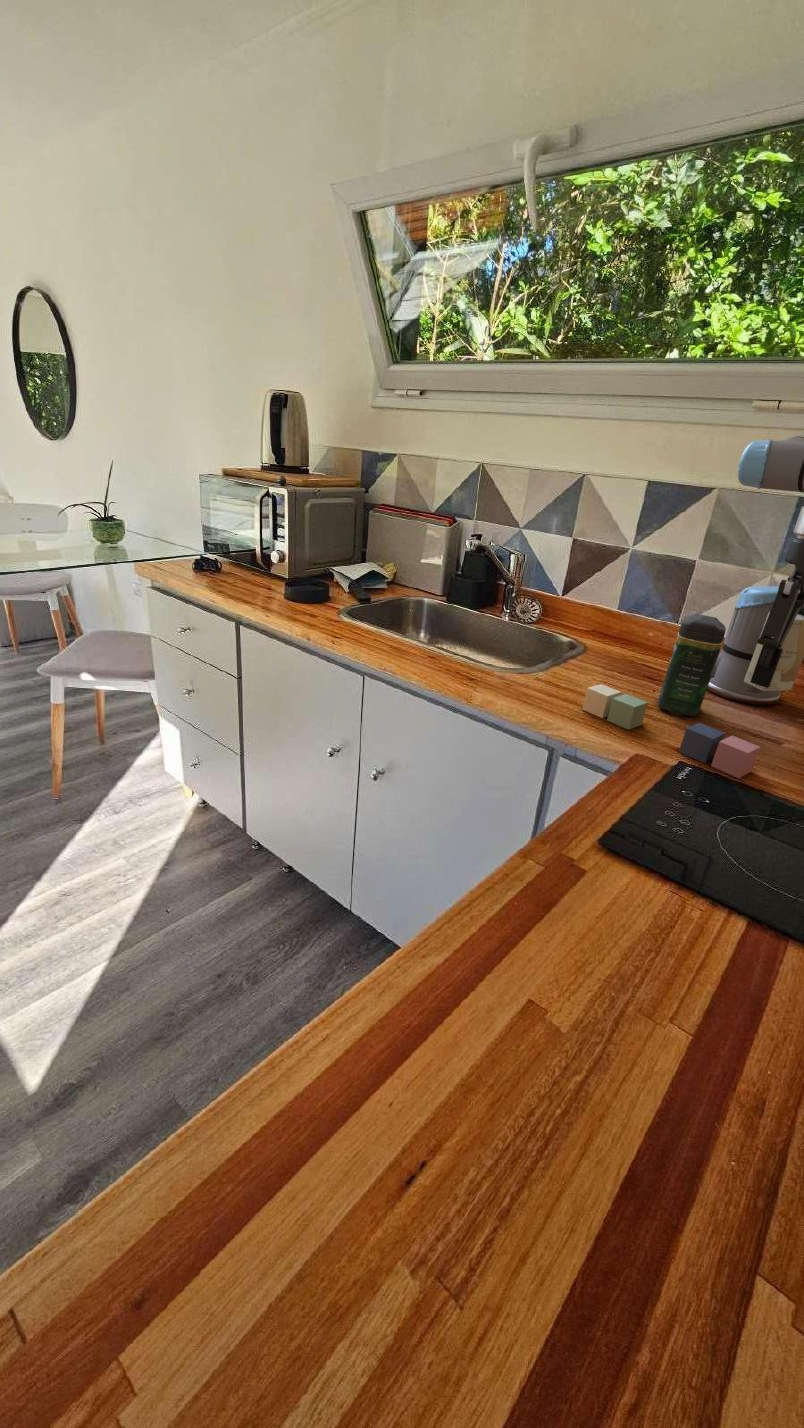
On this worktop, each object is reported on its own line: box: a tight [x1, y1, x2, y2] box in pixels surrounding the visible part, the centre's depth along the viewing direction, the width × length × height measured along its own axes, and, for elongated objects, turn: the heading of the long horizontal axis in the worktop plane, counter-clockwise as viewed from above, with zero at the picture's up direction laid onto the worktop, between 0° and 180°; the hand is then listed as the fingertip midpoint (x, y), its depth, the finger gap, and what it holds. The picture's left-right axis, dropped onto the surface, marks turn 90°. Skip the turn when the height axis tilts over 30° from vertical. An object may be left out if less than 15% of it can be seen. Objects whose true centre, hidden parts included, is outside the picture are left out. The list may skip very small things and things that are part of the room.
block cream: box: [581, 683, 622, 719], centre depth 112 cm, size 4×4×4 cm
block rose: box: [710, 735, 761, 779], centre depth 95 cm, size 4×4×4 cm
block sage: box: [606, 693, 649, 731], centre depth 108 cm, size 4×4×4 cm
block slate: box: [678, 722, 726, 764], centre depth 99 cm, size 4×4×4 cm
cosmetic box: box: [744, 612, 804, 692], centre depth 97 cm, size 6×4×12 cm
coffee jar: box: [657, 613, 727, 717], centre depth 115 cm, size 10×8×19 cm
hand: (769, 680), depth 99 cm, fingers closed on cosmetic box, 7 cm apart
